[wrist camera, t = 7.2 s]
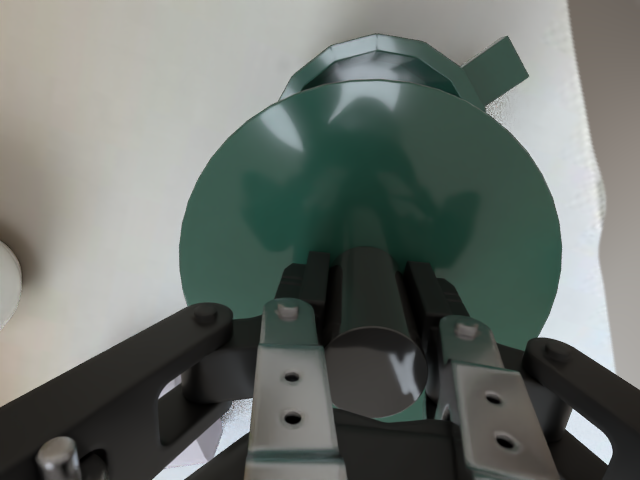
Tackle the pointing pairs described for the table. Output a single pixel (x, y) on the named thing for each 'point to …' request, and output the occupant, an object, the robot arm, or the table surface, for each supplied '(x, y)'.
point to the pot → (414, 67)
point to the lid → (375, 226)
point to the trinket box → (9, 283)
